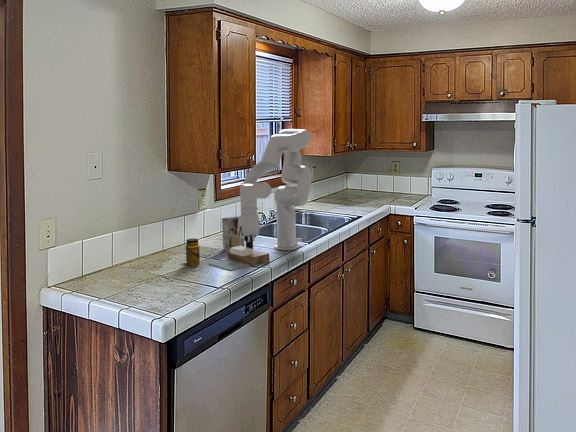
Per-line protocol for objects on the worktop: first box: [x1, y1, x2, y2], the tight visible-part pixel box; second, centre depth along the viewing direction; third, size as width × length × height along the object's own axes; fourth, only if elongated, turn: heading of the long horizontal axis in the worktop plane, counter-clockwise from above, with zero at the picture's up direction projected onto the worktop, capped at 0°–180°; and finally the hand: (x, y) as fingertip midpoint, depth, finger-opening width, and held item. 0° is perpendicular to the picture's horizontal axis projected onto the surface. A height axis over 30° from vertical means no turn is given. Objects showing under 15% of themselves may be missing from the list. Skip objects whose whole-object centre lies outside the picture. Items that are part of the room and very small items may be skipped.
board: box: [227, 249, 270, 267], centre depth 255 cm, size 10×18×4 cm, turn 45°
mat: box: [208, 258, 252, 272], centre depth 248 cm, size 12×16×1 cm
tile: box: [230, 245, 254, 256], centre depth 252 cm, size 6×9×2 cm, turn 44°
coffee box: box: [221, 216, 245, 252], centre depth 277 cm, size 9×6×16 cm
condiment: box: [181, 237, 202, 269], centre depth 248 cm, size 7×8×12 cm
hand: (249, 249), depth 255 cm, fingers closed
